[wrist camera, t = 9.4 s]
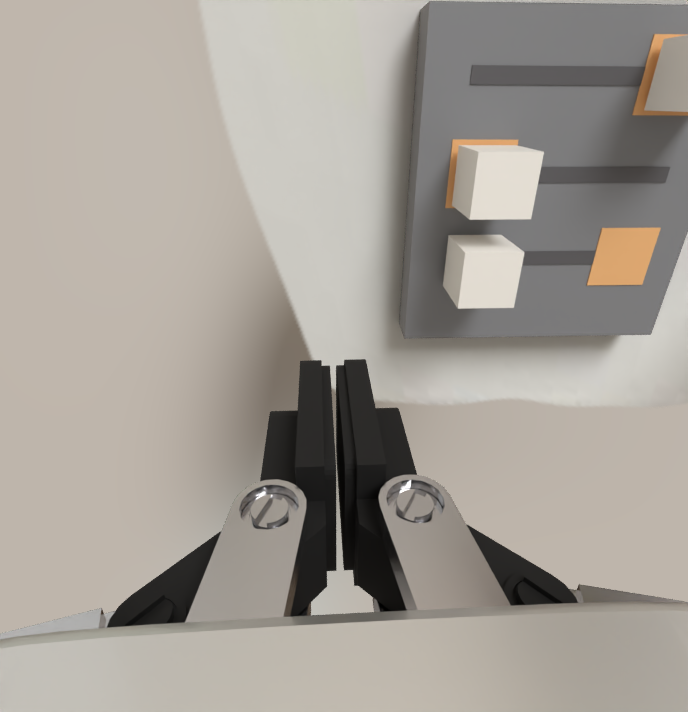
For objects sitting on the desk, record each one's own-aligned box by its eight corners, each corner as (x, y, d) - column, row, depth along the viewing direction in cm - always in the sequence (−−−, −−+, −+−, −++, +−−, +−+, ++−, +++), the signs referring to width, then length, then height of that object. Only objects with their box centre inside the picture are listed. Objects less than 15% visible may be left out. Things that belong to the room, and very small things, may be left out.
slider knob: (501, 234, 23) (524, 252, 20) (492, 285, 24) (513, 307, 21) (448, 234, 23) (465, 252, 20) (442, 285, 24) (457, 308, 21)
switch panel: (730, 13, 21) (769, 5, 19) (630, 319, 28) (651, 335, 26) (420, 9, 20) (430, 0, 19) (399, 323, 28) (404, 338, 26)
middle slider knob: (516, 145, 21) (544, 151, 18) (506, 204, 22) (530, 219, 20) (458, 144, 21) (478, 151, 18) (451, 205, 22) (469, 219, 19)
